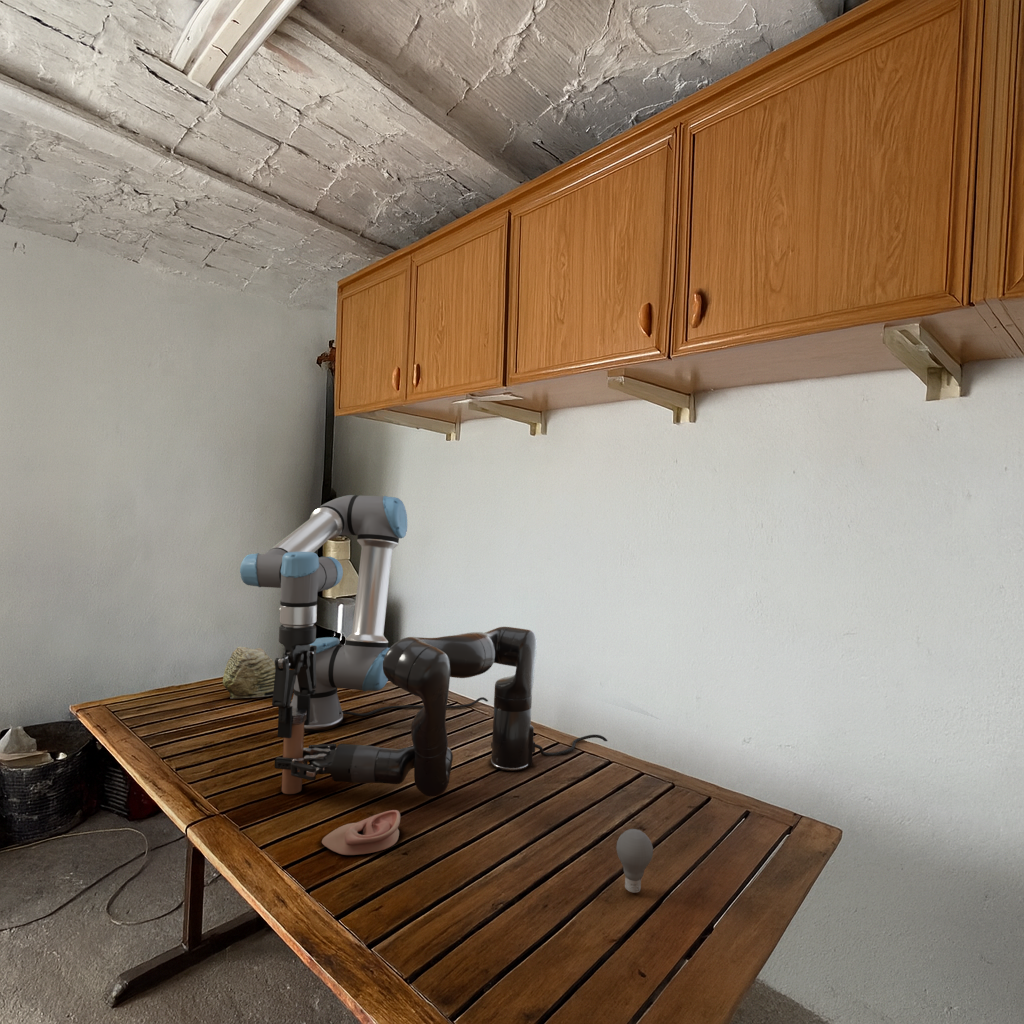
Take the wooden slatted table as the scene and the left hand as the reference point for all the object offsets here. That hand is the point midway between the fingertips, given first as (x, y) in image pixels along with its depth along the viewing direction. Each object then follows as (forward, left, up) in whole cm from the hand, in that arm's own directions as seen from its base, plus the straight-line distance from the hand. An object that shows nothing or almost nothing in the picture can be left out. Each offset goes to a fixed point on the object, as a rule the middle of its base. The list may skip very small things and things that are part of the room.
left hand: (293, 730), depth 136 cm
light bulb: (-18, +72, -13) cm, 75 cm away
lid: (0, 0, +4) cm, 4 cm away
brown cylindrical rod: (0, 0, -13) cm, 13 cm away
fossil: (-28, -64, -13) cm, 71 cm away
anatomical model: (+2, +27, -13) cm, 30 cm away
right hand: (+2, -2, -6) cm, 7 cm away
